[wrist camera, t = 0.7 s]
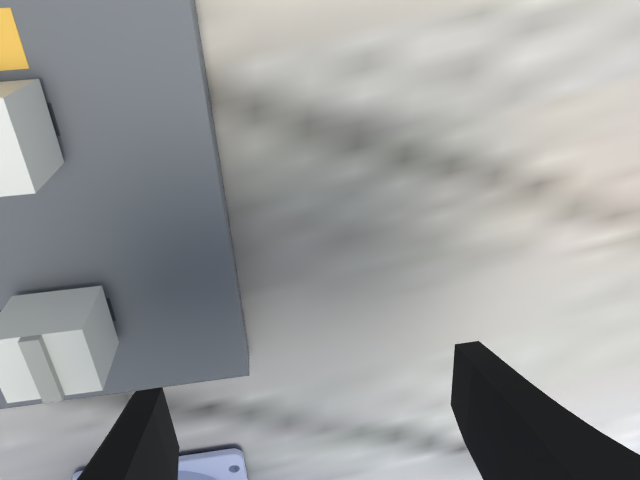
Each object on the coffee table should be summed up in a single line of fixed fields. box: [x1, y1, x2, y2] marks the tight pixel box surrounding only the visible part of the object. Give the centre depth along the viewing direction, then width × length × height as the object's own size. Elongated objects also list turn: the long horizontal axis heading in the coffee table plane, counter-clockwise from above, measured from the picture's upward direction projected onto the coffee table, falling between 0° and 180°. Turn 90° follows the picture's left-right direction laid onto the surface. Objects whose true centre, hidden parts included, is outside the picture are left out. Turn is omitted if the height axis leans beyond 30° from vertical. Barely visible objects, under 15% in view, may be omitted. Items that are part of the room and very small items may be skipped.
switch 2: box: [0, 286, 119, 404], centre depth 17 cm, size 2×3×3 cm
